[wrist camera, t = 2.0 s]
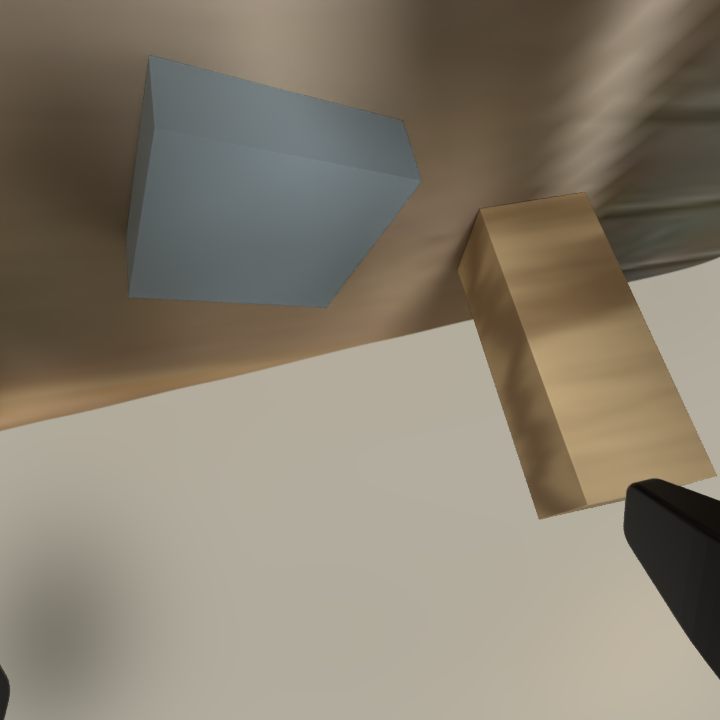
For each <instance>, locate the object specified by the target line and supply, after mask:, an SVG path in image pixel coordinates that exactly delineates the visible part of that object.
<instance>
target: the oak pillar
mask: <svg viewBox="0 0 720 720" xmlns="http://www.w3.org/2000/svg"><path fill="white" fill-rule="evenodd" d="M458 273H459V276H460V279H461V282H462V285H463V289H464V292H465V295H466V298H467V301H468V304H469V307H470V310H471V313H472V316H473V319H474V322H475V325H476V328H477V331H478V334H479V337H480V341H481V343H482V347H483V350H484V352H485V356H486V358H487V362H488V365H489V368H490V371H491V374H492V377H493V380H494V383H495V386H496V389H497V392H498V396H499V399H500V402H501V405H502V408H503V411H504V414H505V417H506V420H507V423H508V426H509V429H510V432H511V435H512V438H513V441H514V445H515V448H516V451H517V454H518V457H519V460H520V463H521V466H522V469H523V472H524V475H525V478H526V481H527V484H528V487H529V490H530V493H531V497H532V500H533V502H534V506H535V509H536V512H537V515H538V518H539V519H543V518H548V517H552V516H557V515H562V514H566V513H571V512H574V511H579V510H584V509H588V508H593V507H597V506H602V505H606V504H611V503H615V502H620V501H624V500H625V499H626V490H627V488H628V486H629V485H630V484H632V483H634V482H638V481H643V480H647V479H651V478H658V479H662V480H665V481H667V482H670V483H673V484H675V485H678V486H682V485H686V484H690V483H693V482H697V481H700V480H704V479H708V478H711V477H715V476H717V474H716V472H715V470H714V468H713V465H712V464H711V461H710V459H709V457H708V455H707V453H706V451H705V448H704V446H703V444H702V442H701V440H700V438H699V436H698V433H697V431H696V429H695V427H694V425H693V423H692V420H691V418H690V416H689V414H688V412H687V410H686V407H685V405H684V403H683V401H682V399H681V397H680V395H679V392H678V390H677V388H676V386H675V384H674V382H673V380H672V377H671V375H670V373H669V371H668V369H667V367H666V365H665V363H664V360H663V358H662V356H661V354H660V352H659V350H658V347H657V345H656V344H655V341H654V339H653V337H652V334H651V332H650V330H649V328H648V326H647V324H646V322H645V319H644V318H643V315H642V313H641V311H640V309H639V307H638V304H637V302H636V300H635V298H634V296H633V294H632V292H631V289H630V287H629V285H628V283H627V281H626V279H625V276H624V274H623V272H622V270H621V268H620V266H619V264H618V261H617V259H616V257H615V255H614V253H613V251H612V249H611V246H610V244H609V242H608V240H607V238H606V236H605V234H604V231H603V229H602V227H601V225H600V223H599V221H598V218H597V216H596V214H595V212H594V210H593V208H592V206H591V203H590V201H589V199H588V197H587V195H586V193H585V192H583V193H577V194H570V195H564V196H558V197H551V198H545V199H539V200H533V201H526V202H520V203H514V204H507V205H501V206H495V207H488V208H482V209H479V212H478V215H477V218H476V220H475V223H474V226H473V229H472V232H471V234H470V237H469V240H468V243H467V245H466V248H465V251H464V254H463V256H462V259H461V262H460V265H459V267H458Z"/></svg>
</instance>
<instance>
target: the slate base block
mask: <svg viewBox="0 0 720 720" xmlns="http://www.w3.org/2000/svg"><path fill="white" fill-rule="evenodd" d="M421 182H422V180H421V177H420V173H419V170H418V167H417V164H416V161H415V158H414V155H413V152H412V148H411V145H410V142H409V139H408V136H407V133H406V130H405V127H404V123H403V121H402V120H398V119H395V118H391V117H387V116H383V115H379V114H375V113H371V112H367V111H364V110H360V109H356V108H352V107H348V106H344V105H340V104H336V103H333V102H329V101H325V100H321V99H317V98H313V97H309V96H306V95H302V94H298V93H294V92H290V91H286V90H282V89H278V88H275V87H271V86H267V85H263V84H259V83H255V82H251V81H247V80H244V79H240V78H236V77H232V76H228V75H224V74H220V73H216V72H213V71H209V70H205V69H201V68H197V67H193V66H189V65H185V64H182V63H178V62H174V61H170V60H166V59H162V58H158V57H155V56H151V55H149V58H148V66H147V74H146V82H145V90H144V98H143V106H142V114H141V122H140V130H139V138H138V146H137V154H136V162H135V170H134V178H133V186H132V194H131V202H130V210H129V218H128V225H127V233H126V255H127V277H128V298H148V299H167V300H186V301H205V302H225V303H244V304H263V305H283V306H302V307H321V308H327V306H328V305H329V304H330V302H331V301H332V300H333V298H334V297H335V296H336V294H337V293H338V292H339V290H340V289H341V288H342V286H343V285H344V284H345V282H346V281H347V280H348V278H349V277H350V276H351V274H352V273H353V272H354V270H355V269H356V268H357V266H358V265H359V264H360V262H361V261H362V260H363V258H364V257H365V256H366V254H367V253H368V252H369V251H370V249H371V248H372V247H373V245H374V244H375V243H376V241H377V240H378V239H379V237H380V236H381V235H382V233H383V232H384V231H385V229H386V228H387V227H388V225H389V224H390V223H391V221H392V220H393V219H394V217H395V216H396V215H397V213H398V212H399V211H400V209H401V208H402V207H403V205H404V204H405V203H406V201H407V200H408V199H409V197H410V196H411V195H412V193H413V192H414V191H415V190H416V188H417V187H418V186H419V184H420V183H421Z"/></svg>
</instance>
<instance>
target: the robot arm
mask: <svg viewBox="0 0 720 720" xmlns="http://www.w3.org/2000/svg"><path fill="white" fill-rule="evenodd" d="M623 527H624V534H625V537H626V540H627V542H628V544H629V546H630V547H631V549H632V550H633V552H634V554H635V555H636V557H637V558H638V560H639V561H640V563H641V564H642V566H643V568H644V569H645V571H646V572H647V574H648V576H649V577H650V579H651V580H652V582H653V583H654V585H655V586H656V588H657V590H658V591H659V593H660V594H661V596H662V598H663V599H664V601H665V602H666V604H667V606H668V607H669V608H670V610H671V612H672V613H673V615H674V617H675V618H676V620H677V621H678V623H679V624H680V626H681V627H682V629H683V630H684V632H685V633H686V635H687V636H688V638H689V639H690V641H691V642H692V644H693V645H694V646H695V648H696V649H697V650H698V651H699V653H700V654H701V656H702V657H703V658H704V660H705V661H706V662H707V664H708V665H709V666H710V667H711V669H712V670H713V671H714V673H715V674H716V675H717V676H718V678H719V679H720V501H719V500H716V499H713V498H711V497H708V496H705V495H702V494H700V493H697V492H694V491H692V490H689V489H686V488H684V487H681V486H678V485H675V484H673V483H670V482H667V481H665V480H662V479H658V478H651V479H647V480H643V481H638V482H634V483H632V484H630V485H629V486H628V488H627V490H626V499H625V512H624V526H623ZM9 696H10V685H9V680H8V678H7V675H6V674H5V672H4V670H3V669H2V667H1V665H0V720H4V718H5V714H6V710H7V706H8V702H9Z"/></svg>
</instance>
